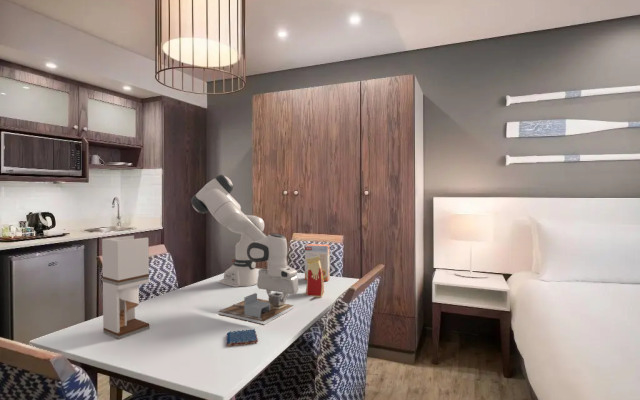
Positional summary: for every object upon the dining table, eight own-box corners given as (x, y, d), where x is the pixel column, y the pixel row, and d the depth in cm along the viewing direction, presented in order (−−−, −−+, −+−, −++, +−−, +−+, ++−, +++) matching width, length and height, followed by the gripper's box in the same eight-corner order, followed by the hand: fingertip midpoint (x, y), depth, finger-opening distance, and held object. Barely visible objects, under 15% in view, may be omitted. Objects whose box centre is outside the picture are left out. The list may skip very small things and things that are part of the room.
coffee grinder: (118, 339, 124) (117, 241, 123) (103, 332, 129) (102, 238, 128) (149, 328, 133) (148, 237, 132) (133, 323, 139) (132, 235, 138)
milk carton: (324, 292, 182) (324, 254, 182) (322, 297, 173) (322, 257, 172) (306, 291, 183) (306, 253, 182) (304, 297, 174) (304, 257, 173)
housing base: (218, 314, 149) (218, 304, 148) (251, 300, 168) (251, 291, 168) (263, 325, 137) (263, 313, 137) (293, 308, 157) (293, 298, 157)
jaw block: (268, 304, 155) (268, 295, 155) (275, 300, 160) (275, 292, 160) (278, 306, 152) (278, 296, 152) (285, 302, 157) (285, 293, 157)
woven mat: (258, 345, 121) (258, 339, 121) (226, 348, 118) (226, 342, 118) (256, 333, 131) (255, 327, 131) (226, 336, 128) (226, 330, 128)
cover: (244, 314, 144) (244, 297, 144) (255, 309, 150) (255, 293, 150) (259, 318, 140) (259, 300, 140) (270, 312, 146) (270, 295, 146)
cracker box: (329, 279, 209) (329, 244, 209) (327, 281, 203) (327, 245, 203) (307, 277, 212) (307, 243, 212) (304, 280, 207) (304, 244, 206)
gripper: (254, 268, 158) (254, 299, 158) (292, 274, 148) (292, 306, 148) (262, 266, 163) (262, 295, 164) (300, 271, 154) (300, 302, 154)
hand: (277, 300), depth 156 cm, fingers closed on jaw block, 5 cm apart
